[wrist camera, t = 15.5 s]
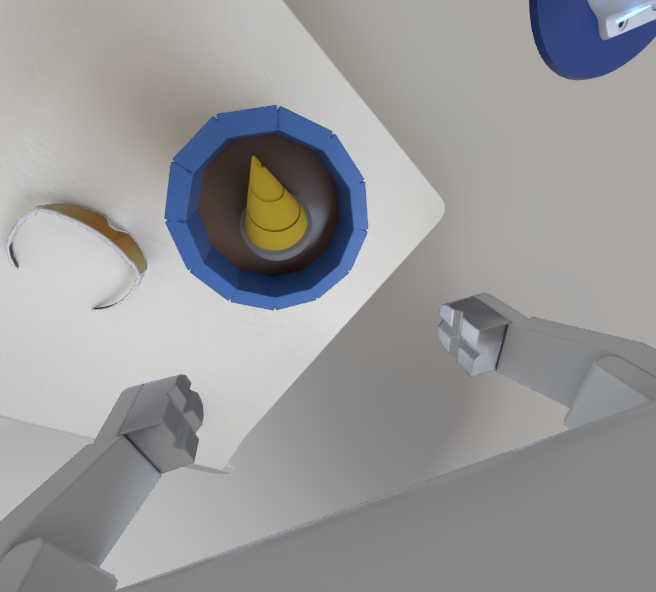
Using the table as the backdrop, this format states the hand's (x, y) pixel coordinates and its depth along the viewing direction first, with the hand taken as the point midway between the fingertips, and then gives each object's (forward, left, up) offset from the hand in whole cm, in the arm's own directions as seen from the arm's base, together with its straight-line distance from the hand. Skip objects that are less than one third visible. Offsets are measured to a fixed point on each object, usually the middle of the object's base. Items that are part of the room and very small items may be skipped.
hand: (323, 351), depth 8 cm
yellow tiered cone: (+1, -2, -17) cm, 17 cm away
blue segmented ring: (0, -1, -16) cm, 16 cm away
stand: (0, -1, -36) cm, 36 cm away
